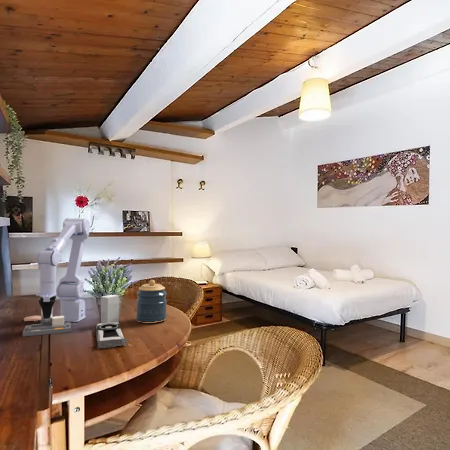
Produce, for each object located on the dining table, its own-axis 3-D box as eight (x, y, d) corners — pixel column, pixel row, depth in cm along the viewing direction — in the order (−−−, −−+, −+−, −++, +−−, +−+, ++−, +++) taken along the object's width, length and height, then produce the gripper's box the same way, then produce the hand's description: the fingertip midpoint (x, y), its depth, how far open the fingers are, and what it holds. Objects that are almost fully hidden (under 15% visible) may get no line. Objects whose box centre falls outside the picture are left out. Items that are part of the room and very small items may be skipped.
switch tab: (52, 327, 138) (52, 318, 138) (52, 324, 141) (52, 316, 141) (63, 326, 139) (63, 317, 139) (64, 324, 143) (64, 315, 143)
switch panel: (22, 336, 131) (22, 330, 131) (25, 329, 140) (25, 324, 140) (70, 332, 138) (70, 326, 138) (70, 326, 146) (70, 320, 146)
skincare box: (111, 322, 152) (112, 294, 152) (118, 324, 150) (119, 295, 150) (100, 325, 147) (100, 296, 147) (107, 327, 145) (107, 297, 145)
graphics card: (97, 341, 119) (95, 322, 142) (97, 351, 119) (95, 330, 142) (129, 338, 123) (122, 320, 146) (128, 348, 123) (121, 328, 146)
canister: (144, 326, 147) (145, 283, 147) (130, 319, 157) (131, 279, 157) (172, 321, 156) (172, 280, 156) (157, 315, 166) (158, 276, 166)
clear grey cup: (54, 322, 140) (55, 301, 140) (49, 324, 136) (49, 303, 136) (44, 321, 141) (45, 301, 141) (38, 324, 137) (39, 303, 137)
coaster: (45, 317, 158) (45, 315, 158) (36, 322, 151) (36, 320, 151) (30, 317, 158) (30, 315, 158) (20, 321, 151) (20, 319, 151)
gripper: (38, 279, 144) (37, 313, 144) (34, 285, 130) (33, 322, 130) (57, 278, 146) (57, 312, 146) (55, 284, 133) (55, 321, 133)
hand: (47, 317), depth 139 cm, fingers closed on clear grey cup, 4 cm apart
